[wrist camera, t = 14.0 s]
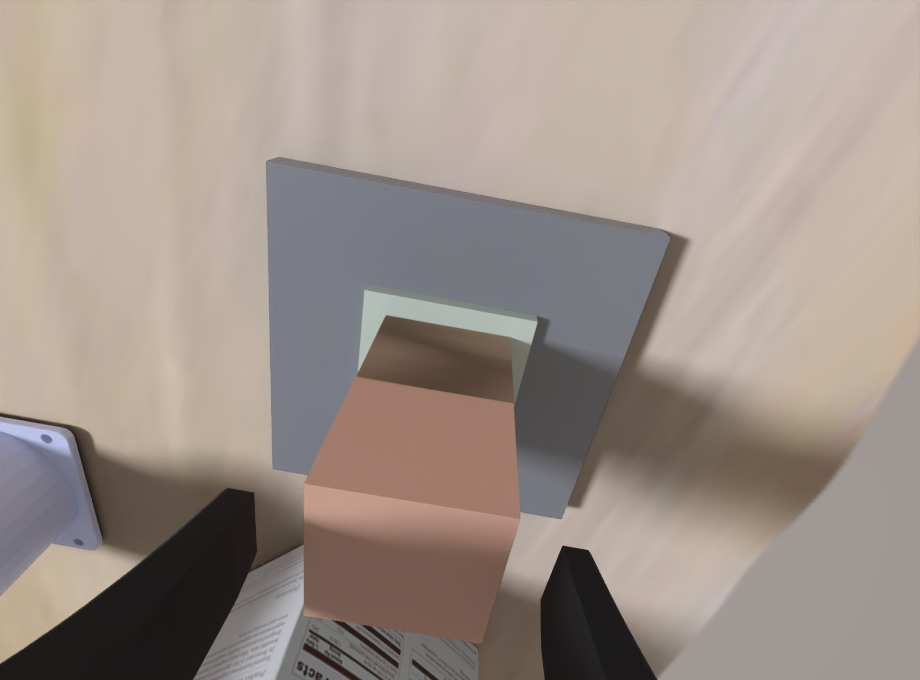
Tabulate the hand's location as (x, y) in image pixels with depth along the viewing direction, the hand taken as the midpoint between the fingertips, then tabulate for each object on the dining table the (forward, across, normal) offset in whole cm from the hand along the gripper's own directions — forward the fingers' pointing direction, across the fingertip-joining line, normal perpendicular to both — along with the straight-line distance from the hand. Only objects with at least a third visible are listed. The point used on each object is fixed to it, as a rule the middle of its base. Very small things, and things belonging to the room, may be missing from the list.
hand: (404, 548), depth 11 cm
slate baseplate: (+9, 0, 0) cm, 9 cm away
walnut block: (+7, 0, 0) cm, 7 cm away
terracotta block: (+3, 0, 0) cm, 3 cm away
